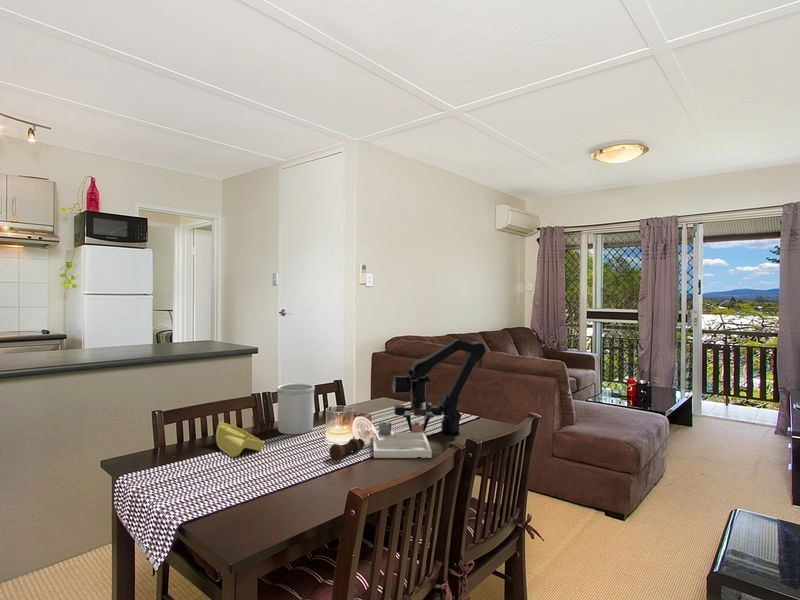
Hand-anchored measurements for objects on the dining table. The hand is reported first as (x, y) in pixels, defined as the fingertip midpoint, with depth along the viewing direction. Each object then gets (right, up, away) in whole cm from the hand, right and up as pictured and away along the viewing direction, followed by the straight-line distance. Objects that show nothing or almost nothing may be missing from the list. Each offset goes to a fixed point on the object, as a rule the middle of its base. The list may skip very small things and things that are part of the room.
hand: (417, 431), depth 187 cm
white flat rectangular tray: (-7, -1, -12) cm, 14 cm away
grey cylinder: (-13, 0, -2) cm, 13 cm away
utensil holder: (-49, 0, +1) cm, 49 cm away
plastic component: (-65, 0, -21) cm, 68 cm away
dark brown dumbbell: (-25, -1, -24) cm, 35 cm away
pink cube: (0, -1, 0) cm, 1 cm away
